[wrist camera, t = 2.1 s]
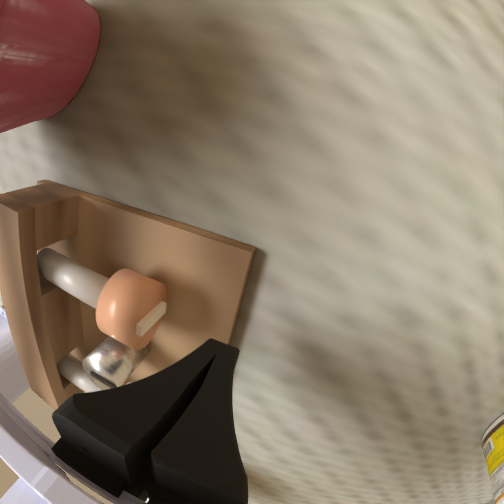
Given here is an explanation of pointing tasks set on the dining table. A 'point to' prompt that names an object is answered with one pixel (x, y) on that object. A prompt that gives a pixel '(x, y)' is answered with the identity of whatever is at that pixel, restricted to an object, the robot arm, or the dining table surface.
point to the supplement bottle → (495, 457)
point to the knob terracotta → (110, 297)
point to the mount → (107, 264)
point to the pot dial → (113, 363)
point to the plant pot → (43, 56)
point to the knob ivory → (76, 374)
